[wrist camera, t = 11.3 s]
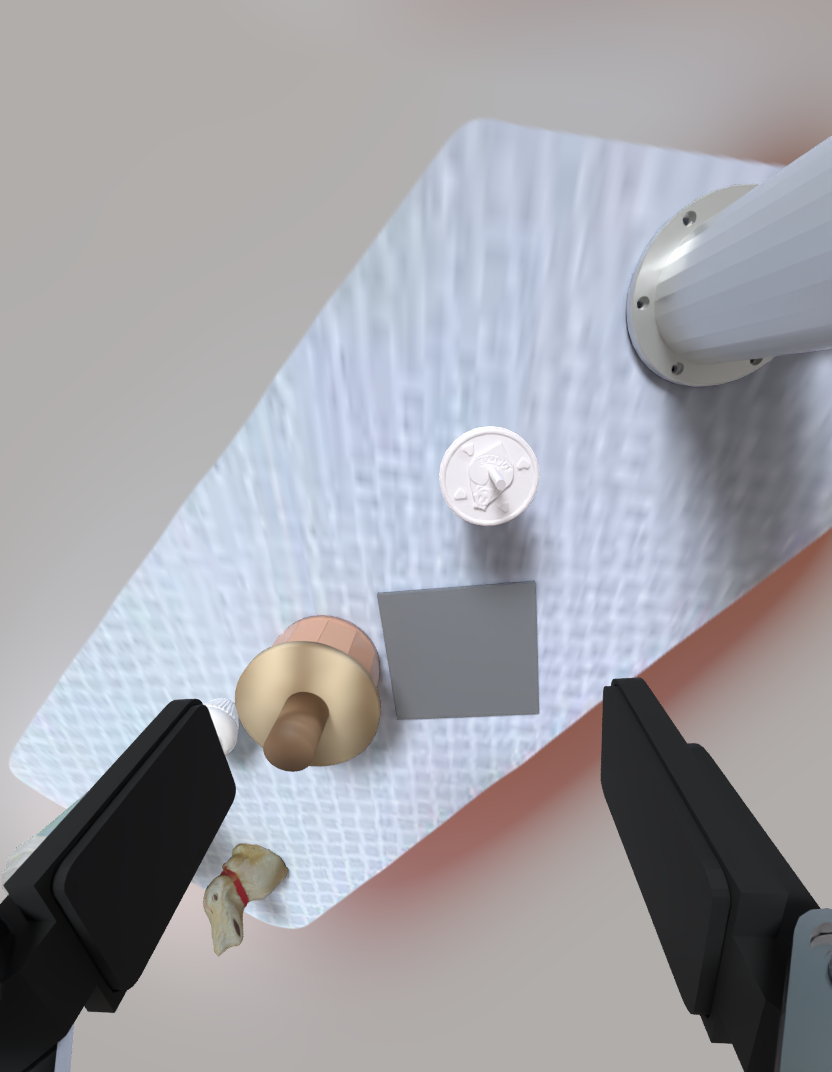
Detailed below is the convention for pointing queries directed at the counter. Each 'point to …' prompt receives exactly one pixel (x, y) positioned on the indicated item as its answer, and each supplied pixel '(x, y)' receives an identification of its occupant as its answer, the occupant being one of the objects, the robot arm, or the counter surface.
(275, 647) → the lid
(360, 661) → the bowl
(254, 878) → the chocolate bunny
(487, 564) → the counter surface
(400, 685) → the mat
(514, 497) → the smoothie
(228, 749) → the white cupcake
